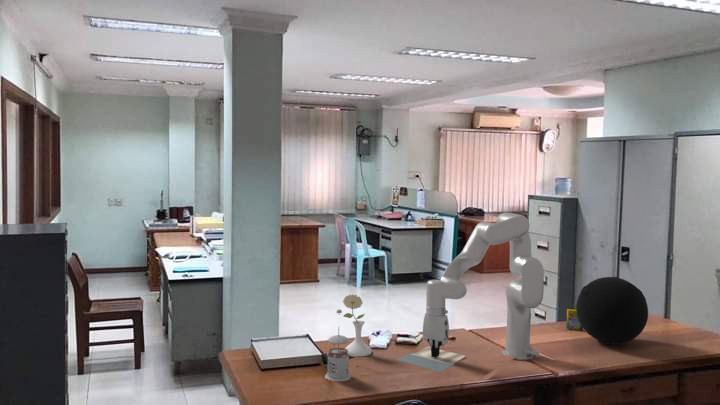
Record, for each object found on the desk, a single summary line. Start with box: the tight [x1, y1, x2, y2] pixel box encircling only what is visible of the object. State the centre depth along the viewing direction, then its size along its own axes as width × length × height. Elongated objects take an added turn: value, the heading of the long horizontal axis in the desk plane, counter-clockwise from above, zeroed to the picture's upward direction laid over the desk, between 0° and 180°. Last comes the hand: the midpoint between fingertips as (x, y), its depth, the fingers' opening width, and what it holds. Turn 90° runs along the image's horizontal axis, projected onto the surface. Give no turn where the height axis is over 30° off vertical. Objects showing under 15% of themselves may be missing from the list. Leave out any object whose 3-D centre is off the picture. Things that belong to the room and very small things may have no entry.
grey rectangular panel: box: [396, 353, 455, 373], centre depth 225 cm, size 20×11×1 cm, turn 51°
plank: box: [413, 346, 466, 364], centre depth 233 cm, size 18×10×1 cm, turn 51°
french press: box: [324, 309, 352, 382], centre depth 211 cm, size 10×12×25 cm
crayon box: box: [565, 304, 584, 331], centre depth 280 cm, size 7×3×12 cm, turn 80°
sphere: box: [575, 276, 649, 345], centre depth 258 cm, size 30×30×30 cm
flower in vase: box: [342, 293, 373, 358], centre depth 235 cm, size 13×11×25 cm
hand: (435, 356), depth 230 cm, fingers closed
